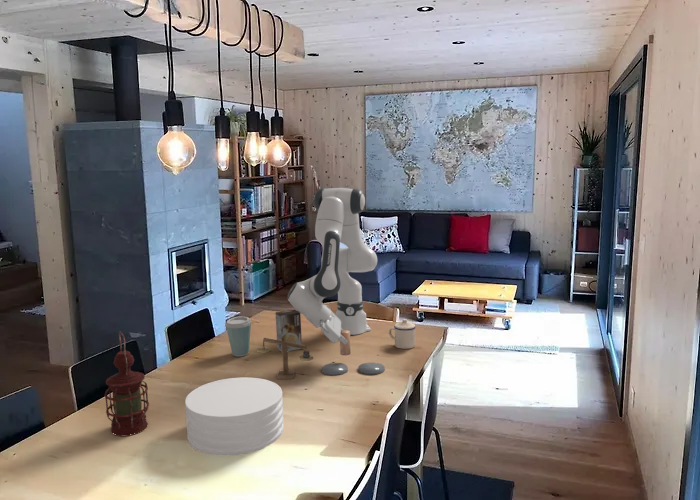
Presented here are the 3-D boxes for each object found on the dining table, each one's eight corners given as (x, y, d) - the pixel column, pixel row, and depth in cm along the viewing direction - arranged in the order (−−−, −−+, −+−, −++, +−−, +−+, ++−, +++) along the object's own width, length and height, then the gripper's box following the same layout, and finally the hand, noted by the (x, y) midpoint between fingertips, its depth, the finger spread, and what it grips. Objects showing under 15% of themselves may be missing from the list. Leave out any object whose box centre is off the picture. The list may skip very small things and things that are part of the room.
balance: (259, 373, 215) (257, 335, 212) (314, 372, 215) (313, 334, 212) (257, 379, 209) (255, 340, 207) (313, 378, 209) (312, 339, 207)
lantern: (155, 430, 171) (147, 334, 166) (111, 441, 164) (102, 341, 159) (145, 415, 181) (138, 324, 176) (104, 425, 174) (95, 331, 170)
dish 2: (358, 365, 222) (358, 362, 221) (383, 364, 222) (383, 362, 221) (358, 374, 212) (358, 372, 212) (385, 374, 212) (385, 371, 212)
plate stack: (203, 411, 184) (201, 377, 182) (289, 411, 183) (288, 377, 181) (174, 456, 156) (171, 416, 154) (275, 456, 155) (274, 416, 153)
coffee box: (296, 344, 247) (295, 308, 245) (302, 349, 242) (301, 312, 239) (276, 348, 243) (275, 311, 241) (282, 352, 238) (280, 315, 235)
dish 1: (322, 365, 222) (322, 363, 222) (347, 365, 222) (347, 362, 221) (320, 375, 212) (320, 372, 212) (347, 375, 212) (347, 372, 212)
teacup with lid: (418, 344, 245) (419, 318, 243) (410, 350, 237) (410, 323, 236) (393, 340, 251) (393, 314, 249) (384, 346, 243) (384, 319, 242)
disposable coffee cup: (244, 359, 230) (242, 323, 227) (221, 356, 234) (219, 321, 231) (257, 351, 239) (256, 316, 237) (235, 348, 243) (234, 314, 241)
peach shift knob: (340, 351, 226) (339, 330, 225) (350, 351, 226) (350, 330, 225) (340, 355, 223) (339, 333, 221) (350, 355, 223) (350, 333, 221)
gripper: (325, 319, 211) (352, 343, 213) (327, 304, 231) (352, 326, 233) (313, 330, 212) (340, 355, 214) (317, 315, 232) (341, 337, 234)
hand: (346, 340), depth 224 cm, fingers closed on peach shift knob, 4 cm apart
